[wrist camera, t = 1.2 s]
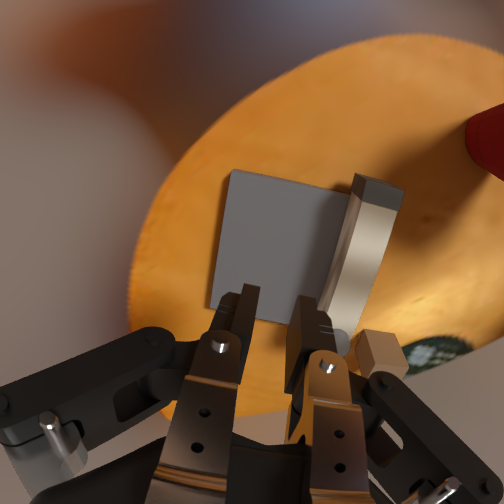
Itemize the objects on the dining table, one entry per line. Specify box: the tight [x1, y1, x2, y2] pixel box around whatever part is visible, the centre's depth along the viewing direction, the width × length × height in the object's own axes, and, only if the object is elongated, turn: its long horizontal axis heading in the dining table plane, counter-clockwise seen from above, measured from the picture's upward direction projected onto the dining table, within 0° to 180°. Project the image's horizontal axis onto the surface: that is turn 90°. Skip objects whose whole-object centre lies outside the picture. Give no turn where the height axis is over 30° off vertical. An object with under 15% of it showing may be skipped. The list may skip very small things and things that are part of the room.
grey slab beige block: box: [210, 169, 409, 380], centre depth 28 cm, size 21×17×6 cm
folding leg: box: [317, 173, 405, 357], centre depth 26 cm, size 16×3×5 cm, turn 169°
